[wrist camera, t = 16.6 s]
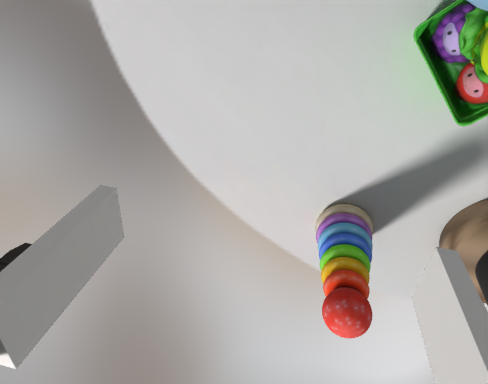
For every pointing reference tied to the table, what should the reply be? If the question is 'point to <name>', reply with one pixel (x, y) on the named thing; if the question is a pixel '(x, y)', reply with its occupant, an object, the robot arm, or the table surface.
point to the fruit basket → (458, 58)
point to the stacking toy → (345, 268)
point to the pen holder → (483, 275)
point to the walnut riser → (468, 237)
